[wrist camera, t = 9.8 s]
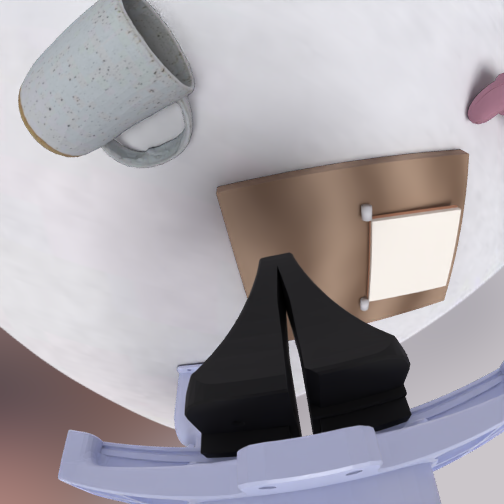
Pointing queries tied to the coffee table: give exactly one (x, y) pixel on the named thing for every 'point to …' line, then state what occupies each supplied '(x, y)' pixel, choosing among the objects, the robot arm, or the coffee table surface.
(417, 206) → the board
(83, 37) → the ceramic mug
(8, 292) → the coffee table surface
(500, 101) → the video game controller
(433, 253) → the hinged panel
